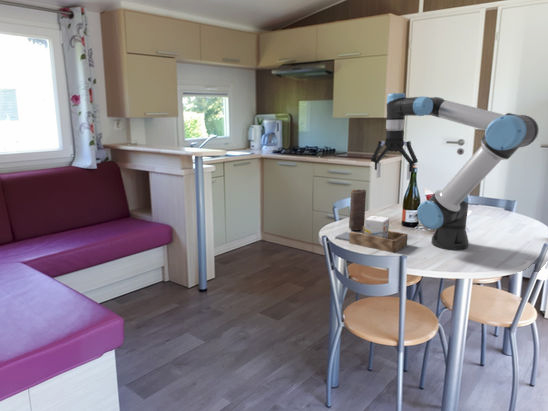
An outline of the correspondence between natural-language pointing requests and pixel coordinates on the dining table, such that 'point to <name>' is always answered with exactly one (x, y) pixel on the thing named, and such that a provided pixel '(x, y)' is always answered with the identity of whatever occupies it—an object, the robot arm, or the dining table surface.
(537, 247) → the dining table surface
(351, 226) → the candle
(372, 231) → the ink box
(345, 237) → the slate pad
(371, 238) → the wooden tray
